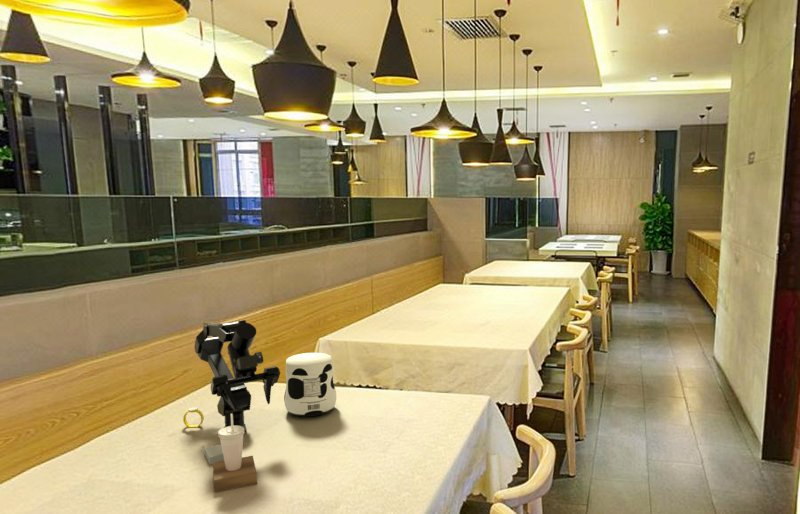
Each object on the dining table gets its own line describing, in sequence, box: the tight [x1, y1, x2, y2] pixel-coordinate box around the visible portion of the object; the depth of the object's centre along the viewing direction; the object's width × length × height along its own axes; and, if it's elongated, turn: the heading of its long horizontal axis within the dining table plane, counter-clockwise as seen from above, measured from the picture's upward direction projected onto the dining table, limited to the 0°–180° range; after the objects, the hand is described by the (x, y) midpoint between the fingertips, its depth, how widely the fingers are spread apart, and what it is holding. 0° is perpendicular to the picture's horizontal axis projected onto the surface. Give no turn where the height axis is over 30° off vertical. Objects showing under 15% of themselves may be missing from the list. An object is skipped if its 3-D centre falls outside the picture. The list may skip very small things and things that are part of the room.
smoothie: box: [217, 414, 246, 471], centre depth 138 cm, size 6×6×14 cm
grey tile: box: [203, 443, 224, 465], centre depth 151 cm, size 7×7×2 cm
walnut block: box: [212, 455, 258, 493], centre depth 138 cm, size 10×10×3 cm
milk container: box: [283, 352, 337, 417], centre depth 183 cm, size 17×17×18 cm
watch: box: [182, 407, 205, 428], centre depth 173 cm, size 6×3×6 cm, turn 91°
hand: (252, 406), depth 151 cm, fingers open, 9 cm apart
